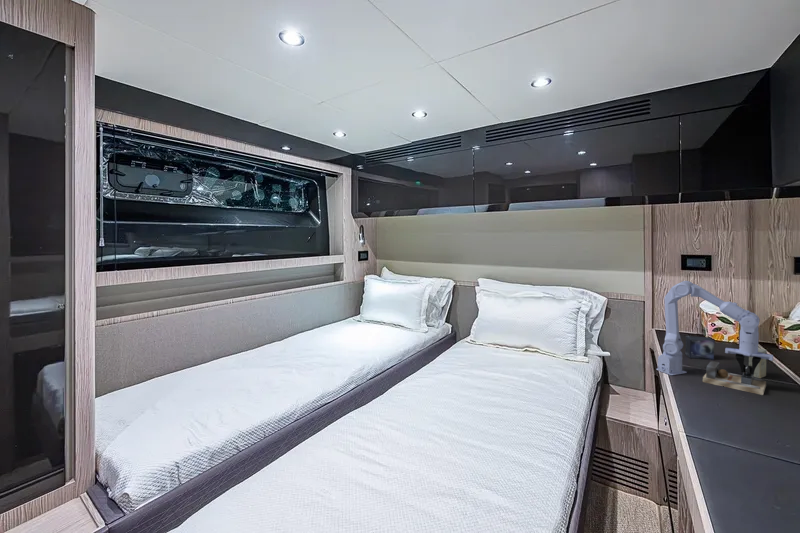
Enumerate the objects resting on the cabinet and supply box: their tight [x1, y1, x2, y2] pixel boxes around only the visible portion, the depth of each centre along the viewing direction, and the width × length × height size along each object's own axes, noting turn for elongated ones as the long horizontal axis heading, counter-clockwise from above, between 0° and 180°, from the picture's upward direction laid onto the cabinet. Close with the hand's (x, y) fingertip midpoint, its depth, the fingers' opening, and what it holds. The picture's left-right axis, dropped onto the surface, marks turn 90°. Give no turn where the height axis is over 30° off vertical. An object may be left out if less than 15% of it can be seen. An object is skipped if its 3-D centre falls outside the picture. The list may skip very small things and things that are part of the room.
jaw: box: [741, 364, 755, 385], centre depth 152 cm, size 3×9×7 cm, turn 130°
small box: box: [684, 335, 716, 361], centre depth 189 cm, size 11×6×10 cm, turn 69°
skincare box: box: [748, 347, 768, 379], centre depth 163 cm, size 6×4×12 cm
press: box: [702, 360, 767, 396], centre depth 156 cm, size 19×12×7 cm, turn 40°
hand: (747, 372), depth 152 cm, fingers closed on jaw, 2 cm apart
